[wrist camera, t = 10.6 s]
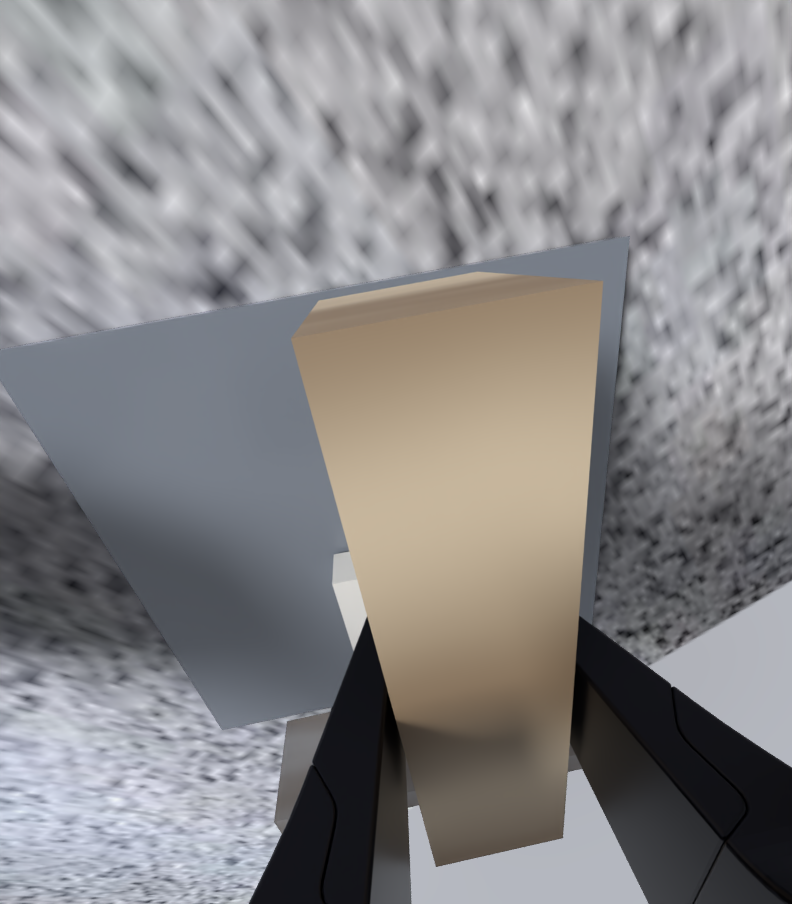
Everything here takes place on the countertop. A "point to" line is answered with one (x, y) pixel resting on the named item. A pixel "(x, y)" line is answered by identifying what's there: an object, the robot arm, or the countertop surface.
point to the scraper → (462, 534)
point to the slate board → (245, 477)
